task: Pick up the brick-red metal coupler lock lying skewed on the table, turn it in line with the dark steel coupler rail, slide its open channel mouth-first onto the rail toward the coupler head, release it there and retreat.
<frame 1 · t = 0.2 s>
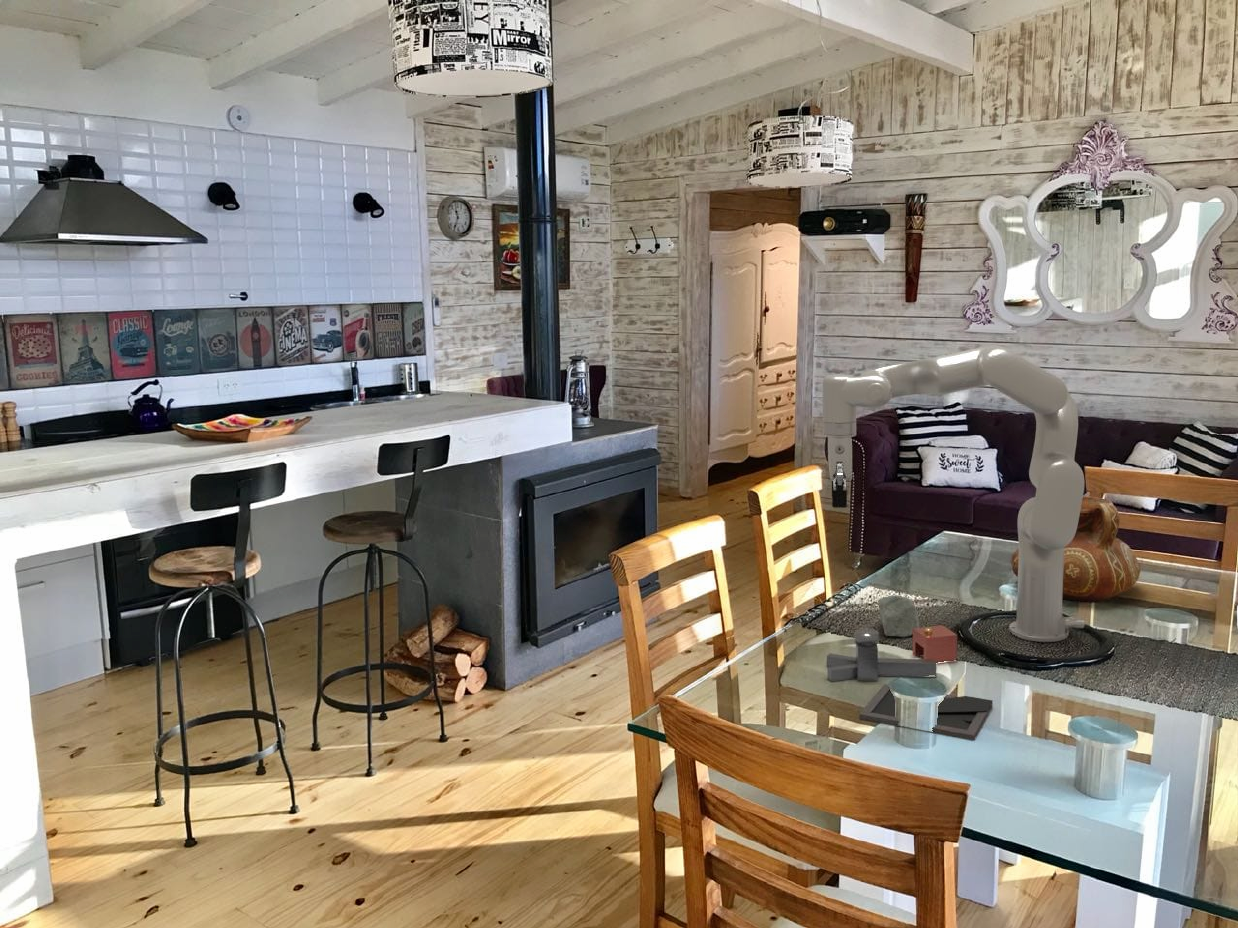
hand: (839, 502, 240), 31 cm above the table, tool pointing down, fingers open, 9 cm apart
jug: (1073, 591, 267), on the table
decorative stone: (898, 631, 244), on the table
picture frame: (926, 716, 199), on the table
coupler: (905, 674, 217), on the table
coupler lock: (934, 657, 226), on the table
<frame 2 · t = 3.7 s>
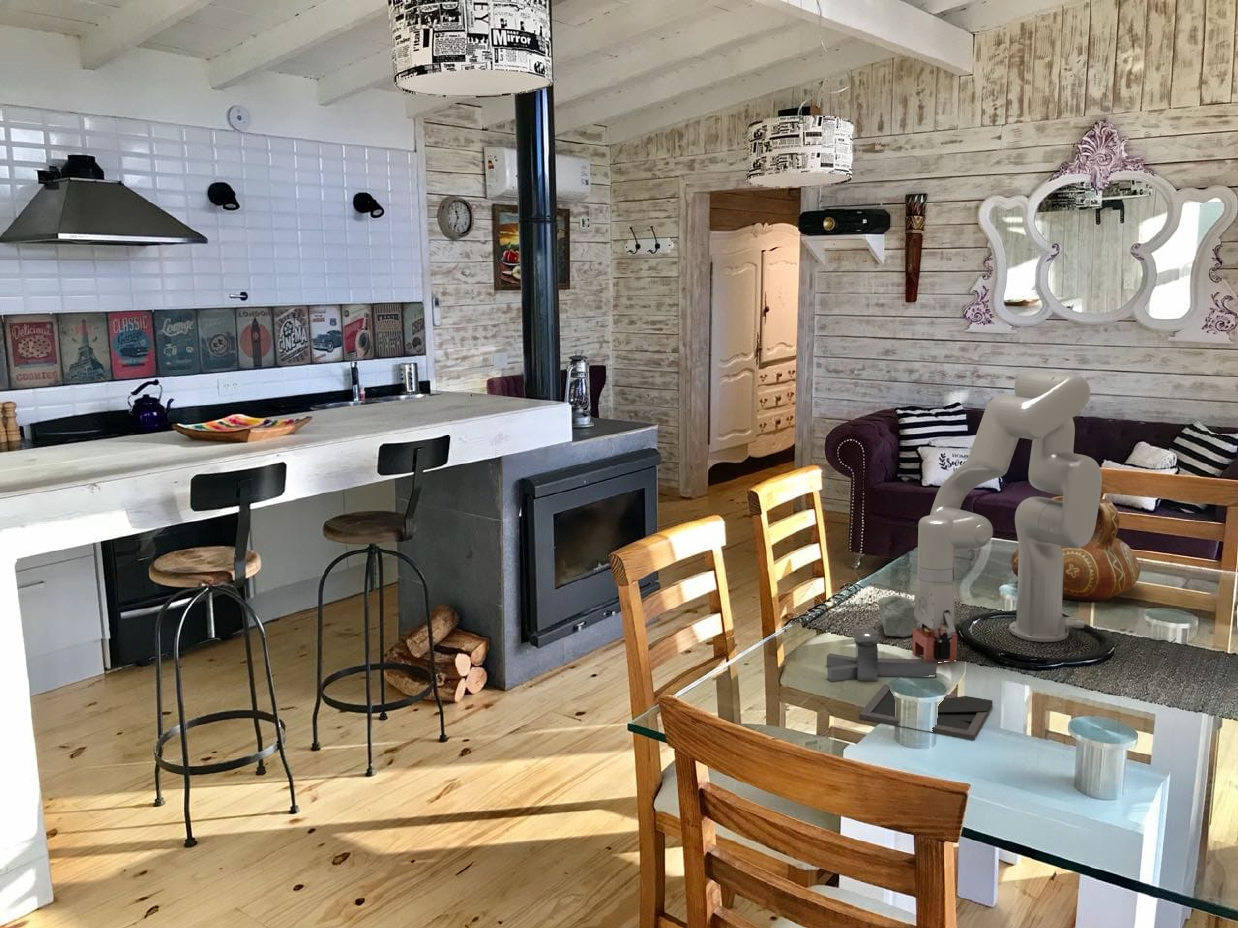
hand: (934, 652, 226), 1 cm above the table, tool pointing down, fingers closed on coupler lock, 6 cm apart
coupler lock: (934, 657, 226), on the table, touching gripper
everything else where it was.
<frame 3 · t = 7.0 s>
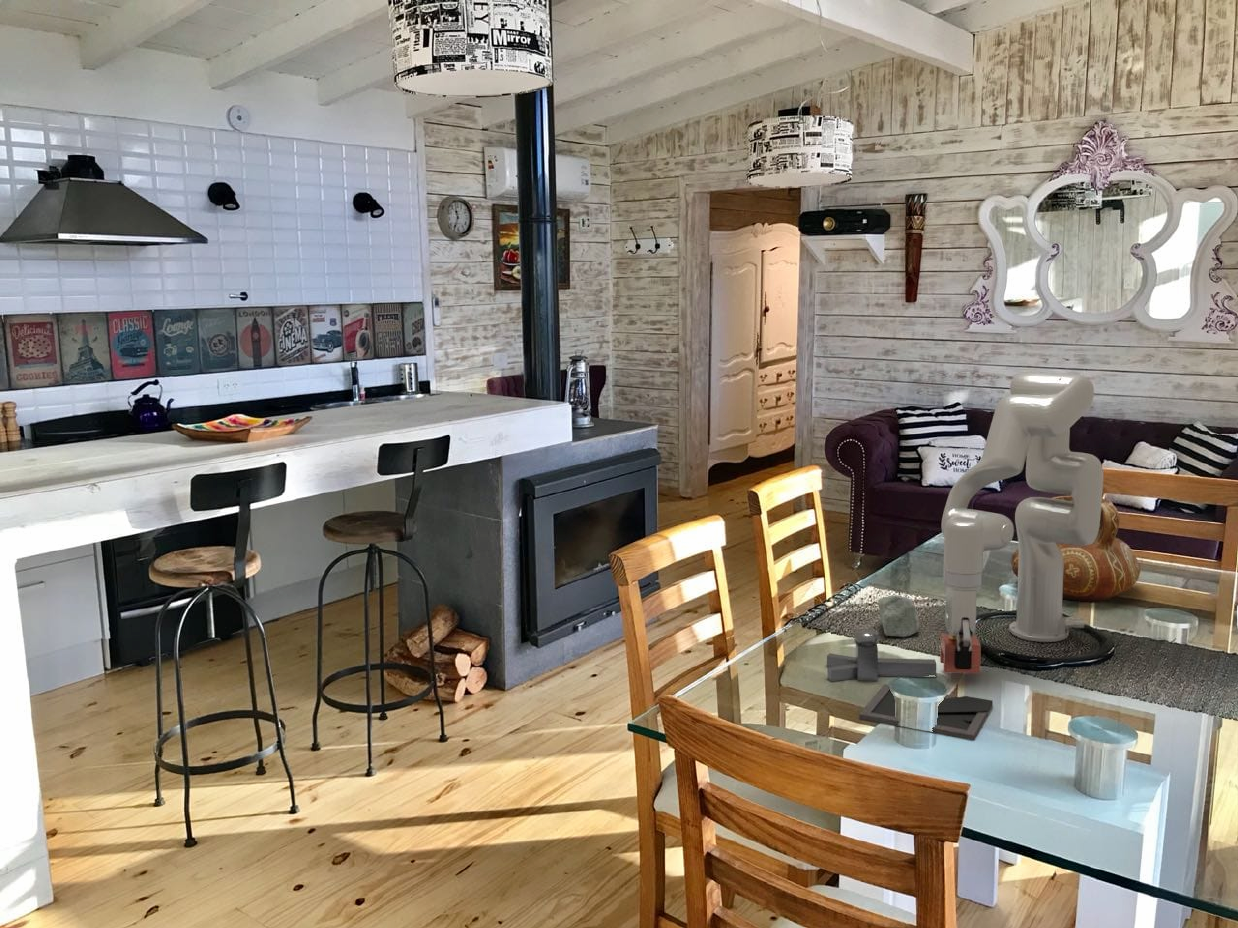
hand: (960, 661, 215), 3 cm above the table, tool pointing down, fingers closed on coupler lock, 6 cm apart
coupler lock: (959, 667, 215), point 2 cm above the table, touching gripper
everything else where it was.
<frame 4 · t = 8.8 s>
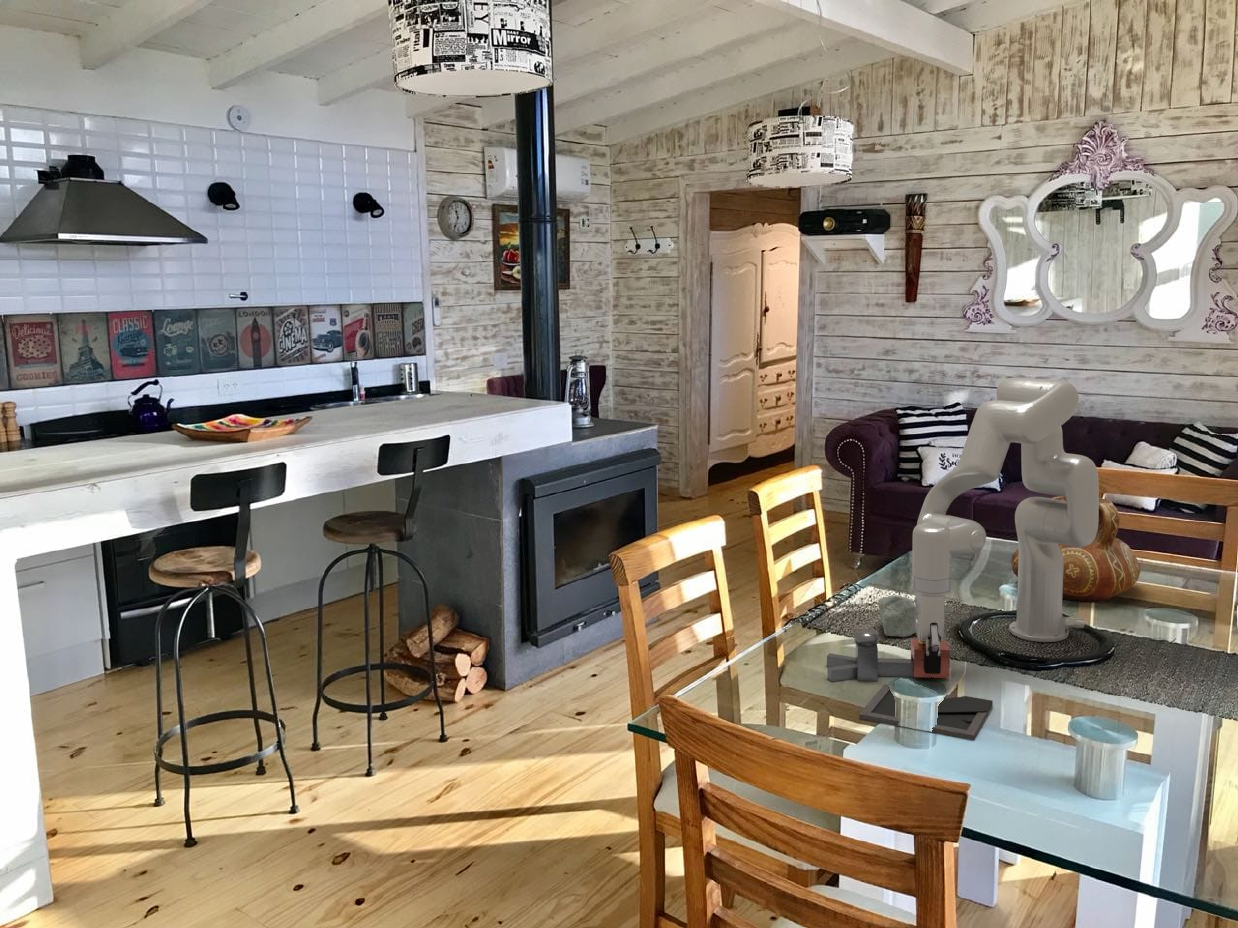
hand: (930, 665, 216), 2 cm above the table, tool pointing down, fingers closed on coupler lock, 6 cm apart
coupler lock: (929, 671, 217), point 1 cm above the table, touching gripper
everything else where it was.
when the fingers open (2 cm above the table, at t = 10.5 s): coupler lock stays where it is, resting in coupler.
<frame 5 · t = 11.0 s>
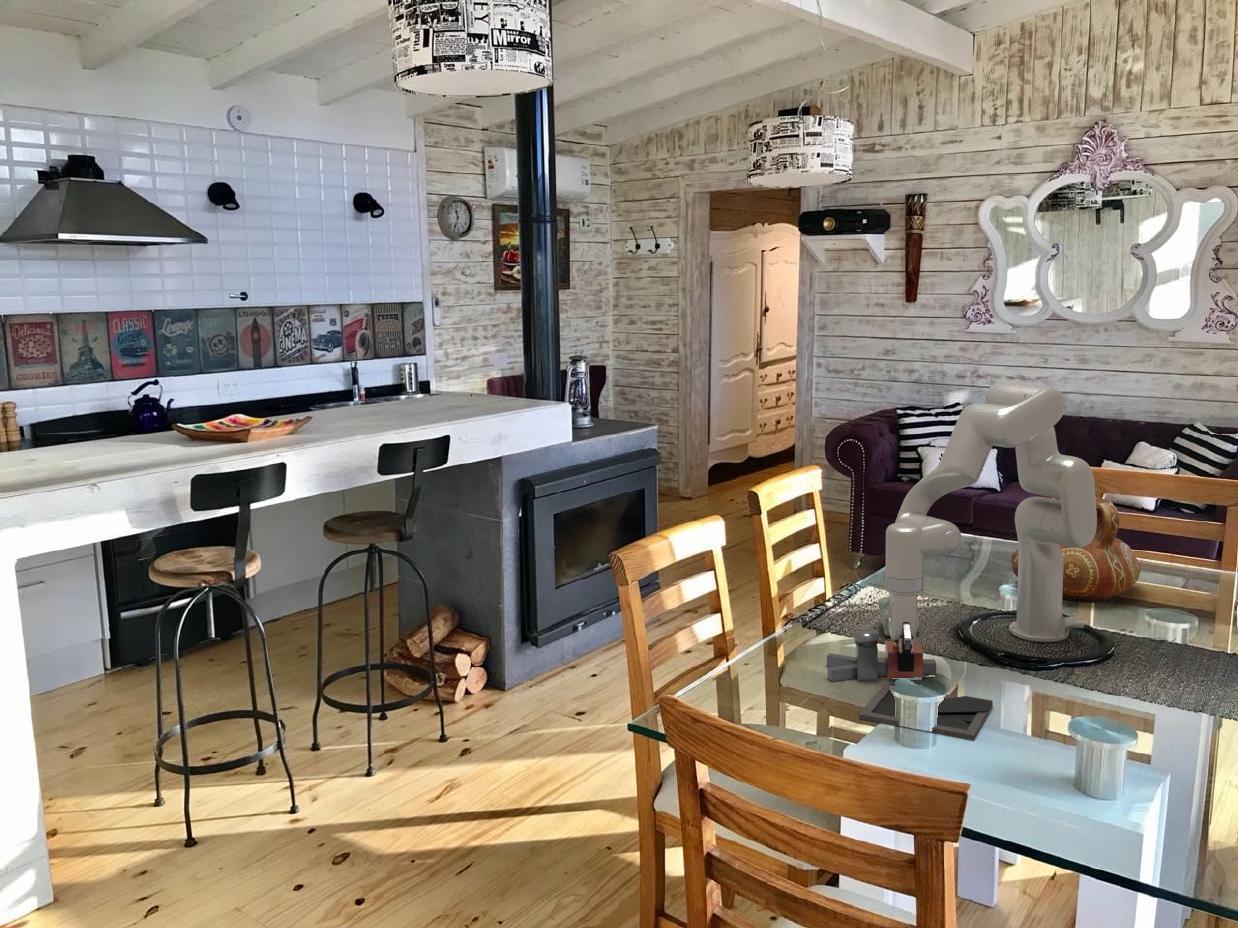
hand: (903, 662, 217), 3 cm above the table, tool pointing down, fingers open, 9 cm apart
coupler lock: (903, 674, 218), resting in coupler
everything else where it was.
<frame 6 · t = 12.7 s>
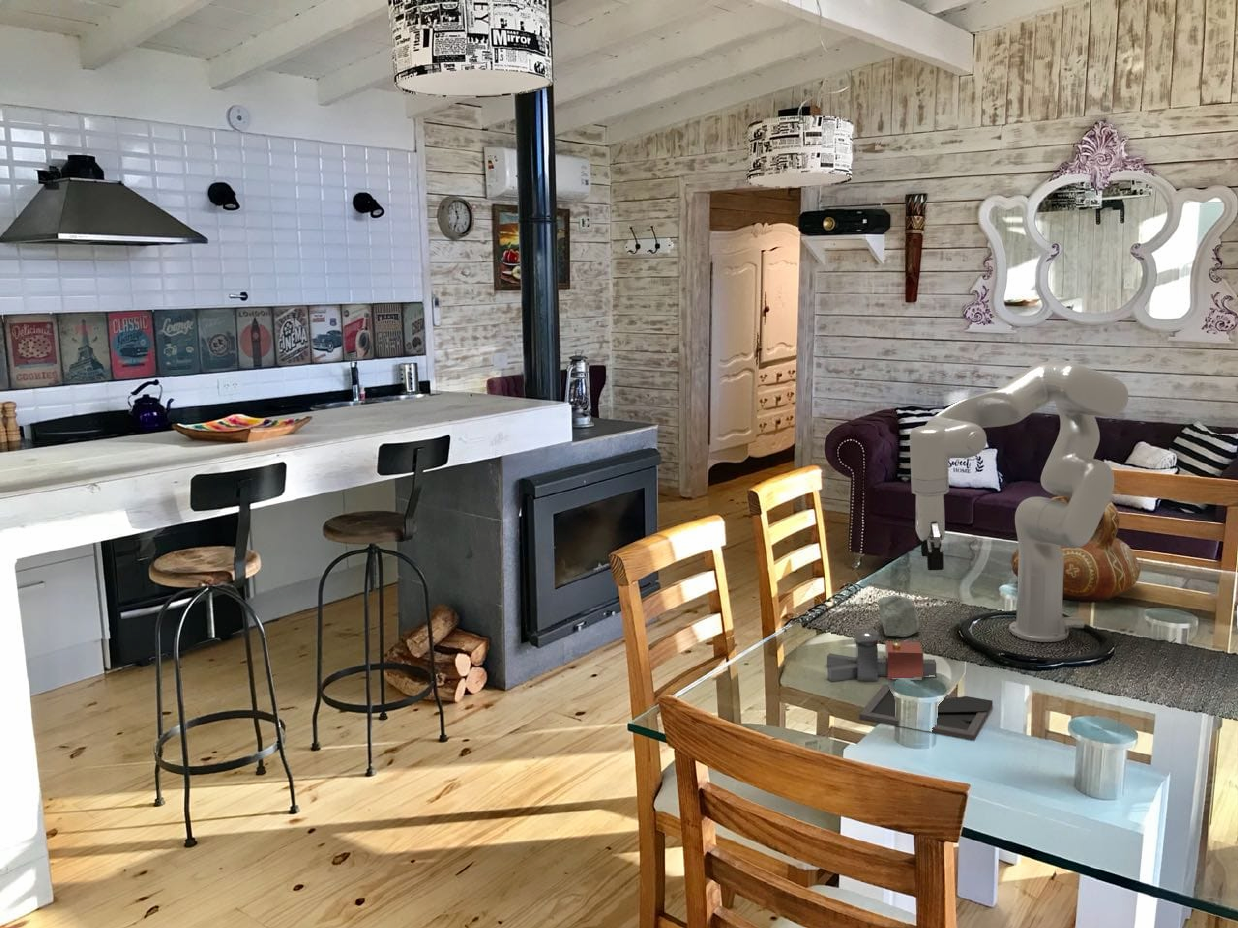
hand: (932, 562, 222), 21 cm above the table, tool pointing down, fingers open, 9 cm apart
nothing on the table moved.
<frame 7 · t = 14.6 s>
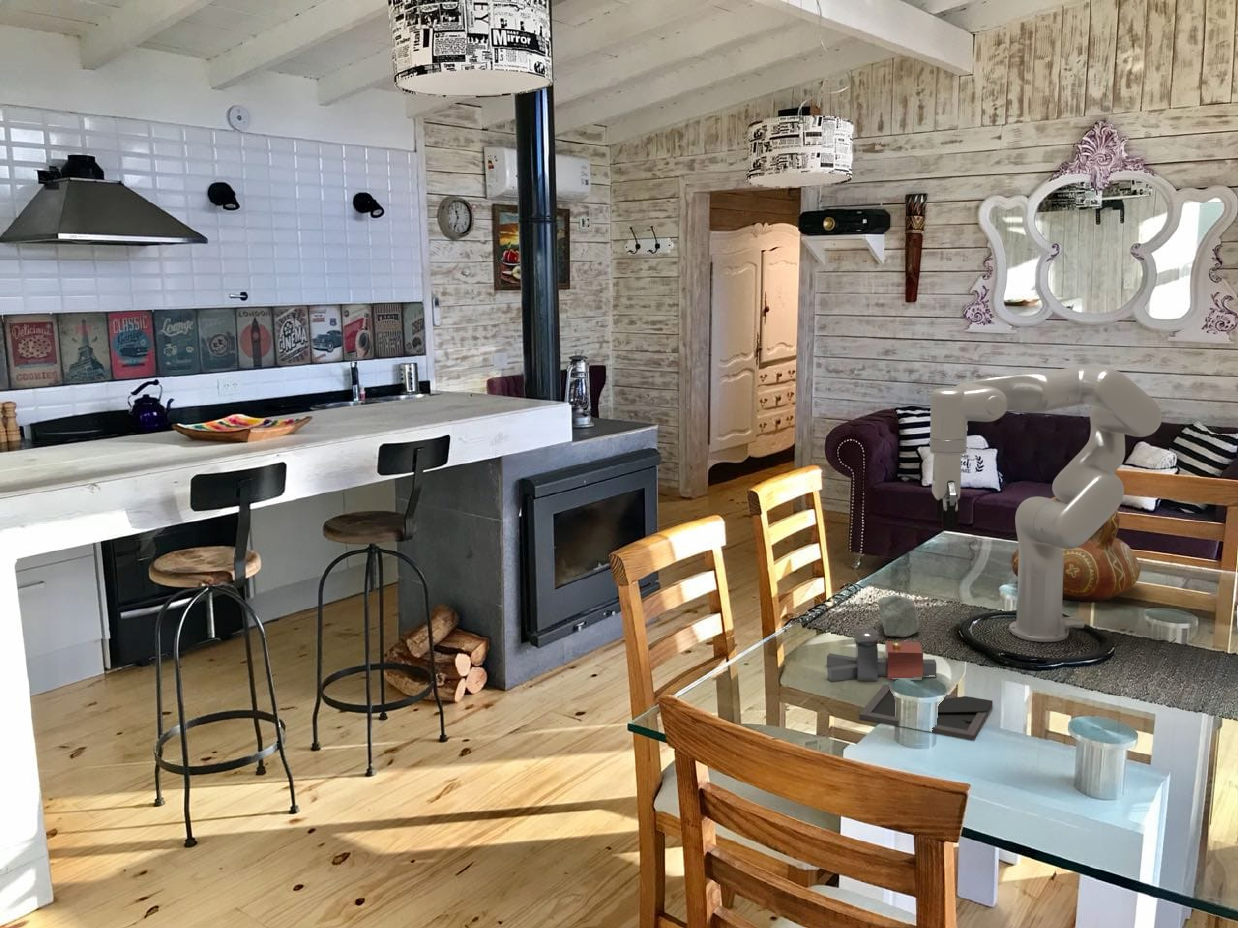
hand: (946, 523, 227), 28 cm above the table, tool pointing down, fingers open, 9 cm apart
nothing on the table moved.
at the end: coupler lock inside the target area on the coupler (0.3 cm from its centre), point 0.0 cm above the coupler's base; coupler lock tilted 0°; the gripper is holding nothing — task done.
